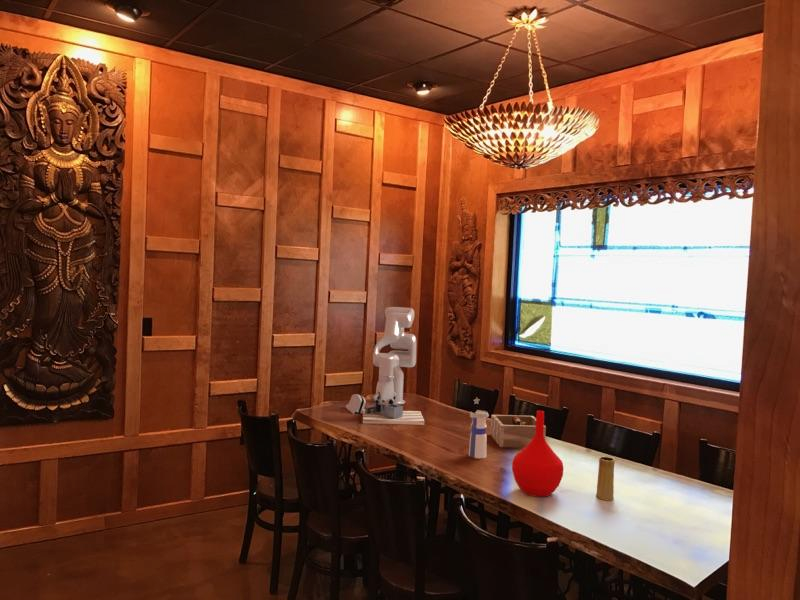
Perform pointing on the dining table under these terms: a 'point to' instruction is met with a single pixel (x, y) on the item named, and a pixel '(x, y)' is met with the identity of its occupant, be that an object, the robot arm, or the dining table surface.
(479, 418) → the water bottle
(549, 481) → the vase
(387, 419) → the board
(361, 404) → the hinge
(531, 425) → the box
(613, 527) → the dining table surface
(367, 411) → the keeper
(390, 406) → the link
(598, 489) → the vase
